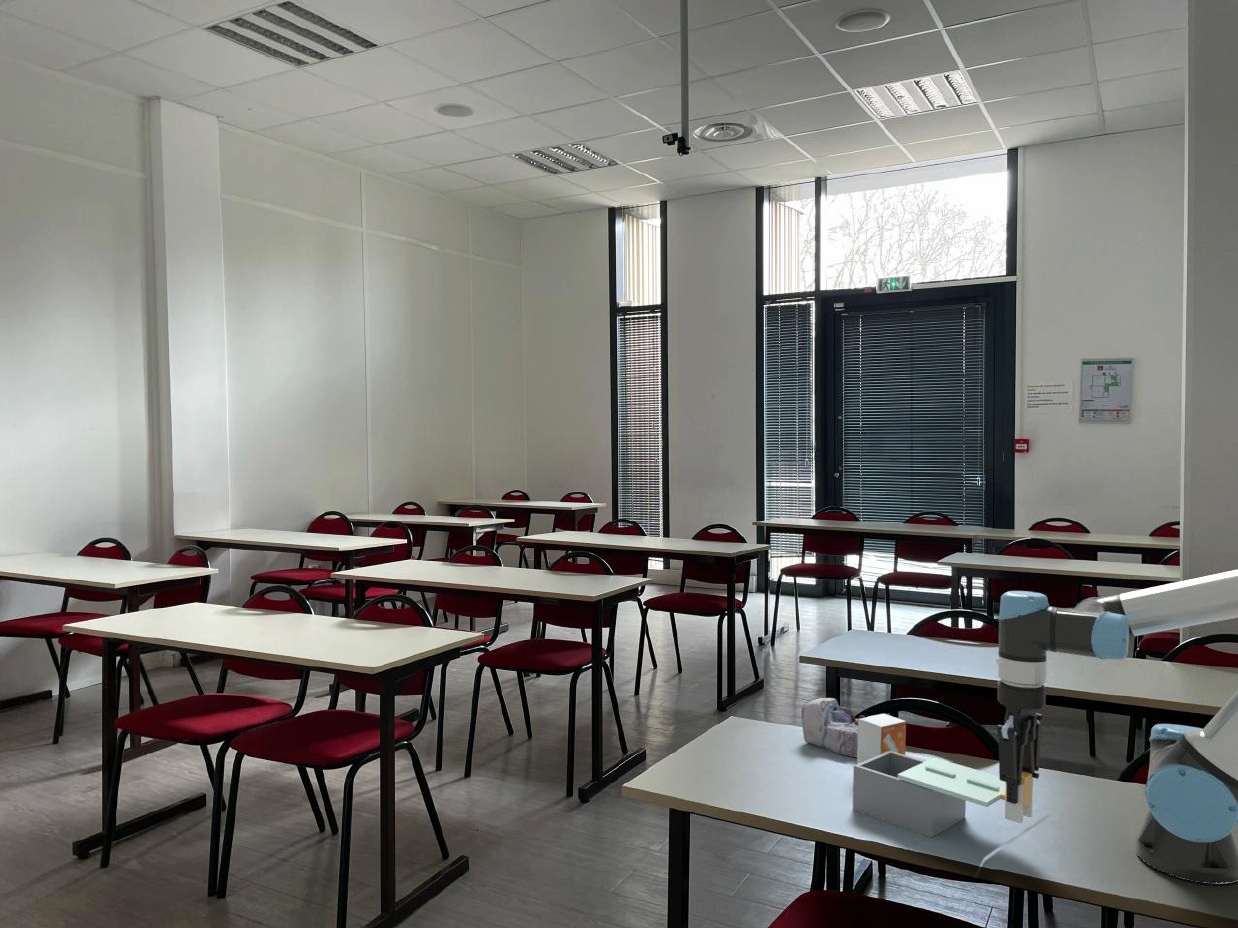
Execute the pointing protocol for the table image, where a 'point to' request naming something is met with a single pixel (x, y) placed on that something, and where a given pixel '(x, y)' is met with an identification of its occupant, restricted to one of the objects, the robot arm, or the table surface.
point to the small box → (880, 736)
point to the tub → (902, 796)
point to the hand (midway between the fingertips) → (1018, 816)
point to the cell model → (830, 726)
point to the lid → (963, 782)
